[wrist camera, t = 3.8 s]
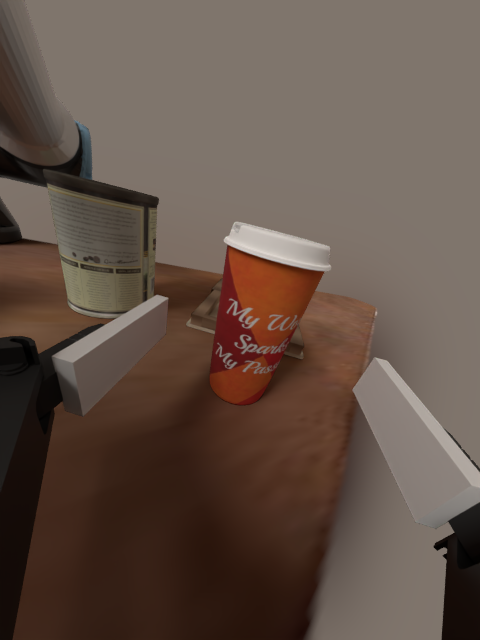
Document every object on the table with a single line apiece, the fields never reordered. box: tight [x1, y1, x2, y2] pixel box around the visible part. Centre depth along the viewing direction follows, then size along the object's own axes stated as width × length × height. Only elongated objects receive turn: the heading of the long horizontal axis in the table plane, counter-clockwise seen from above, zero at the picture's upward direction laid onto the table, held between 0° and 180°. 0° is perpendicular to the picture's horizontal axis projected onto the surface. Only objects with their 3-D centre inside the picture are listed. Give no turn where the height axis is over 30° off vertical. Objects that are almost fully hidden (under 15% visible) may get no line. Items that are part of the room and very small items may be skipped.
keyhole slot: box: [186, 278, 304, 359], centre depth 37 cm, size 24×16×2 cm, turn 171°
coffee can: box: [43, 169, 159, 318], centre depth 25 cm, size 10×10×14 cm
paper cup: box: [210, 222, 331, 405], centre depth 17 cm, size 8×8×14 cm
